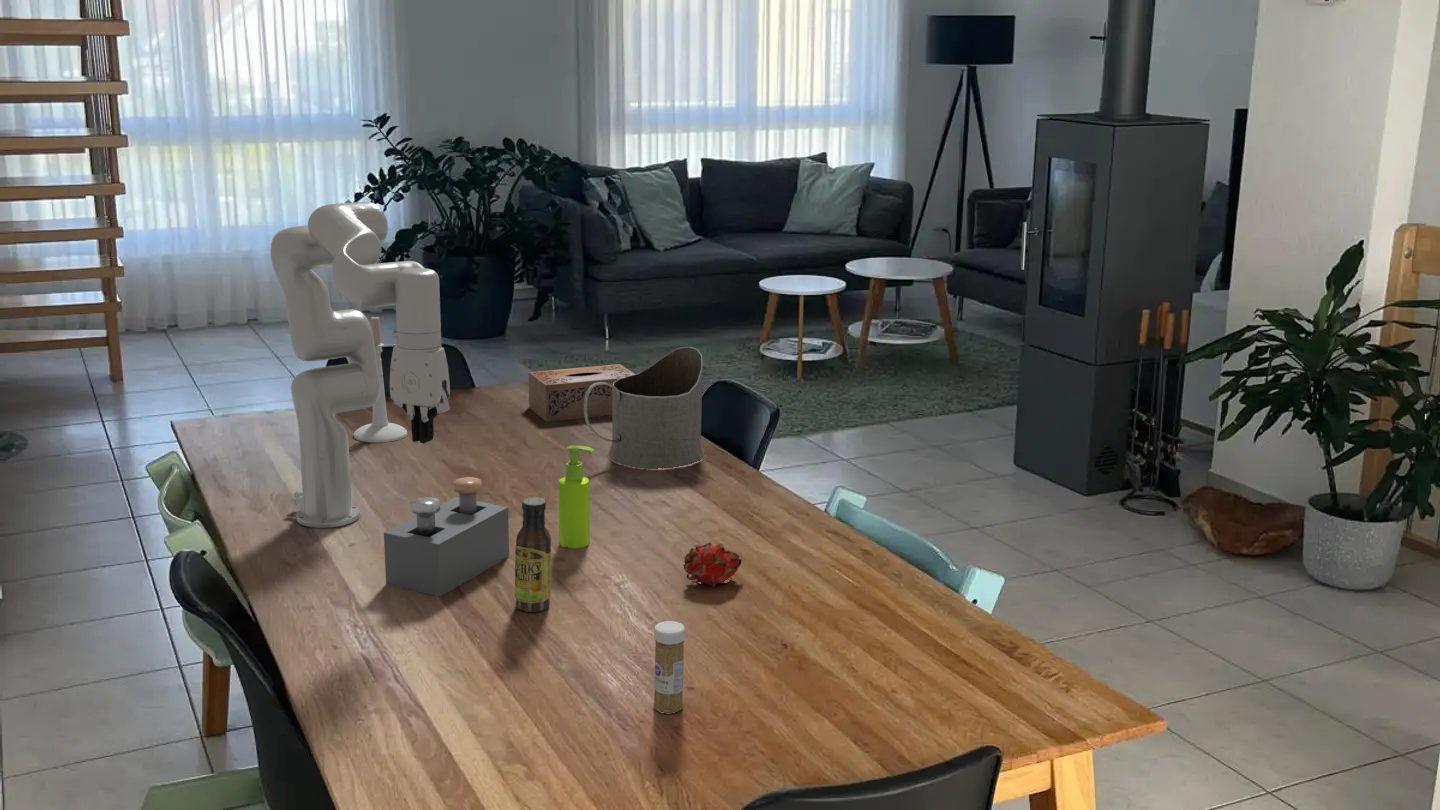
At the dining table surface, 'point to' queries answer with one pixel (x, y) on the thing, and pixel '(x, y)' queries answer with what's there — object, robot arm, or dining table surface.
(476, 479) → the terracotta plunger
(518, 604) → the sauce bottle
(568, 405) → the tissue box cover
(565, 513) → the soap dispenser
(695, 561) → the dragon fruit
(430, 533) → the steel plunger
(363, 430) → the candlestick
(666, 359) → the pitcher
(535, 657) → the dining table surface
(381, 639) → the dining table surface
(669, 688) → the sprinkles bottle
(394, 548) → the button box
